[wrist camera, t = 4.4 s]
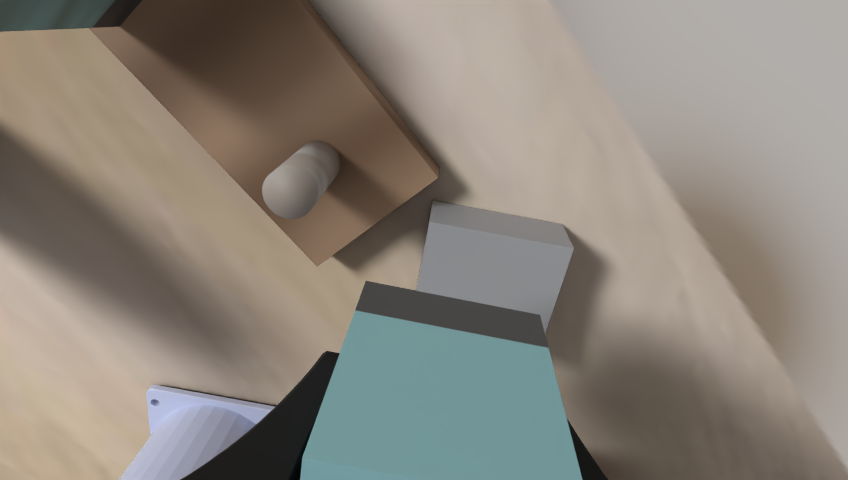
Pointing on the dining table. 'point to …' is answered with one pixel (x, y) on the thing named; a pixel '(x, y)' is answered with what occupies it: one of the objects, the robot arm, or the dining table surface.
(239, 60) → the peg board
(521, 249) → the block
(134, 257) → the dining table surface
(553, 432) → the sleeve
